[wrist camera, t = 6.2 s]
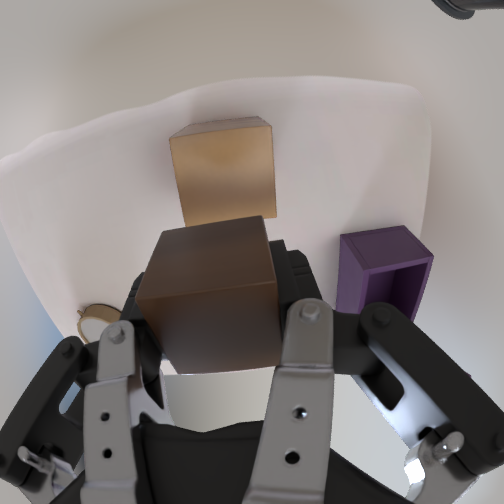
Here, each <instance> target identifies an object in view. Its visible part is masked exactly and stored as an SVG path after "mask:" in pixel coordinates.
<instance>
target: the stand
mask: <svg viewBox="0 0 504 504" xmlns="http://www.w3.org/2000/svg"><path fill="white" fill-rule="evenodd" d="M169 142H170V148H171V154H172V160H173V166H174V171H175V177H176V182H177V187H178V192H179V197H180V202H181V207H182V212H183V217H184V222H185V226H186V227H189V226H195V225H201V224H207V223H213V222H219V221H225V220H231V219H238V218H244V217H251V216H258V215H262V216H263V219H266V218H276V217H277V212H276V192H275V174H274V157H273V141H272V127H271V125H269V124H268V123H267V122H266V121H264V120H263V119H262V118H260V117H249V118H238V119H229V120H220V121H212V122H205V123H198V124H192V125H188V126H187V127H185V128H184V129H182V130H181V131H179V132H178V133H176V134H175V135H173V136H172V137H170V138H169Z"/></svg>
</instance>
